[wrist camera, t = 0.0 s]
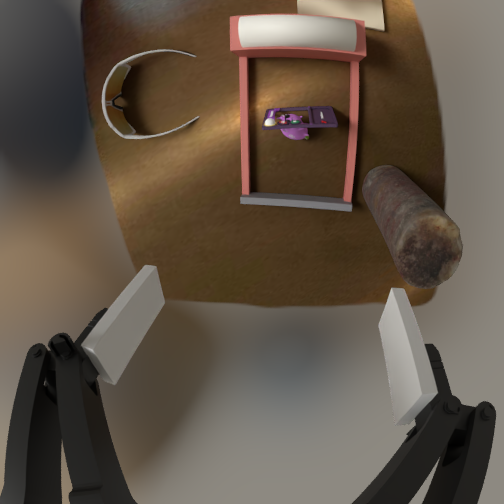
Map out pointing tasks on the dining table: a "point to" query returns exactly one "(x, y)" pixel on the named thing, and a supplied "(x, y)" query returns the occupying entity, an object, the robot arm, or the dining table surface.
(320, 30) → the frame
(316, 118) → the purple toy
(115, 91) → the sunglasses
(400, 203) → the brown stone cylinder
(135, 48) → the dining table surface
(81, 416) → the robot arm
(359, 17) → the plate
